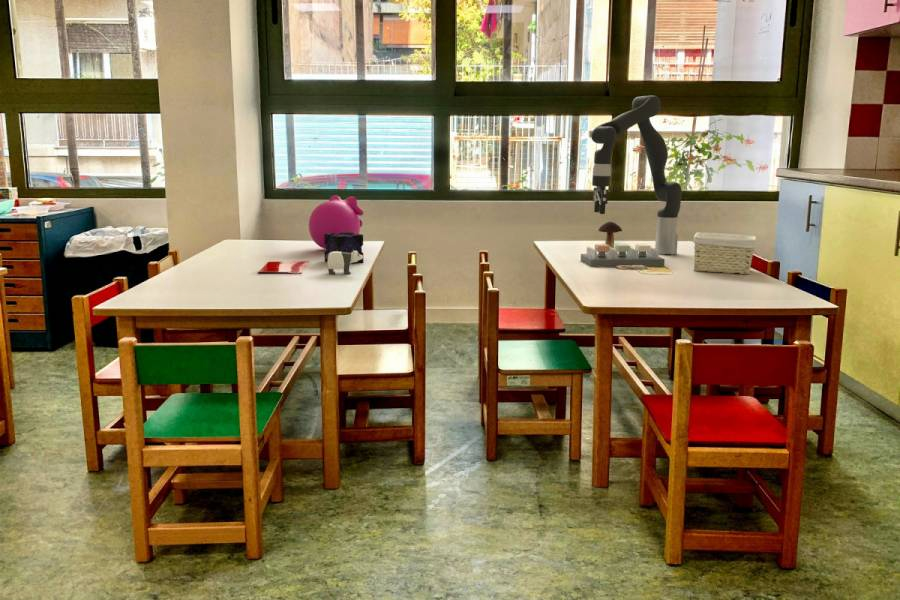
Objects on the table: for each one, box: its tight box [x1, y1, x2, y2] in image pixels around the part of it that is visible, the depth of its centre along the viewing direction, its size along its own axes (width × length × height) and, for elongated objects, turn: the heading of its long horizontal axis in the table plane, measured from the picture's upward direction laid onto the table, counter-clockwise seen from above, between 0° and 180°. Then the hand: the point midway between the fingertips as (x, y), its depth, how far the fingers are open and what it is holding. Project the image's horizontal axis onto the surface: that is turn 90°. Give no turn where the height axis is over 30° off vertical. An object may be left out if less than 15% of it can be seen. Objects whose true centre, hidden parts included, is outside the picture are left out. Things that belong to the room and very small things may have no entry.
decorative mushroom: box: [597, 221, 623, 254], centre depth 360 cm, size 11×11×15 cm
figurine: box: [308, 194, 364, 250], centre depth 360 cm, size 23×24×25 cm
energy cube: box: [324, 232, 364, 264], centre depth 328 cm, size 12×12×12 cm
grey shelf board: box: [580, 246, 666, 268], centre depth 334 cm, size 32×16×6 cm, turn 96°
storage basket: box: [693, 231, 757, 275], centre depth 317 cm, size 24×16×15 cm
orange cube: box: [594, 243, 610, 256], centre depth 332 cm, size 5×5×5 cm
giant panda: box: [326, 250, 364, 276], centre depth 301 cm, size 15×6×10 cm, turn 101°
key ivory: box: [634, 243, 652, 256], centre depth 334 cm, size 5×5×5 cm
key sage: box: [614, 243, 631, 256], centre depth 333 cm, size 5×5×5 cm
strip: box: [615, 265, 648, 270], centre depth 322 cm, size 12×4×1 cm, turn 96°
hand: (599, 213), depth 332 cm, fingers open, 8 cm apart
